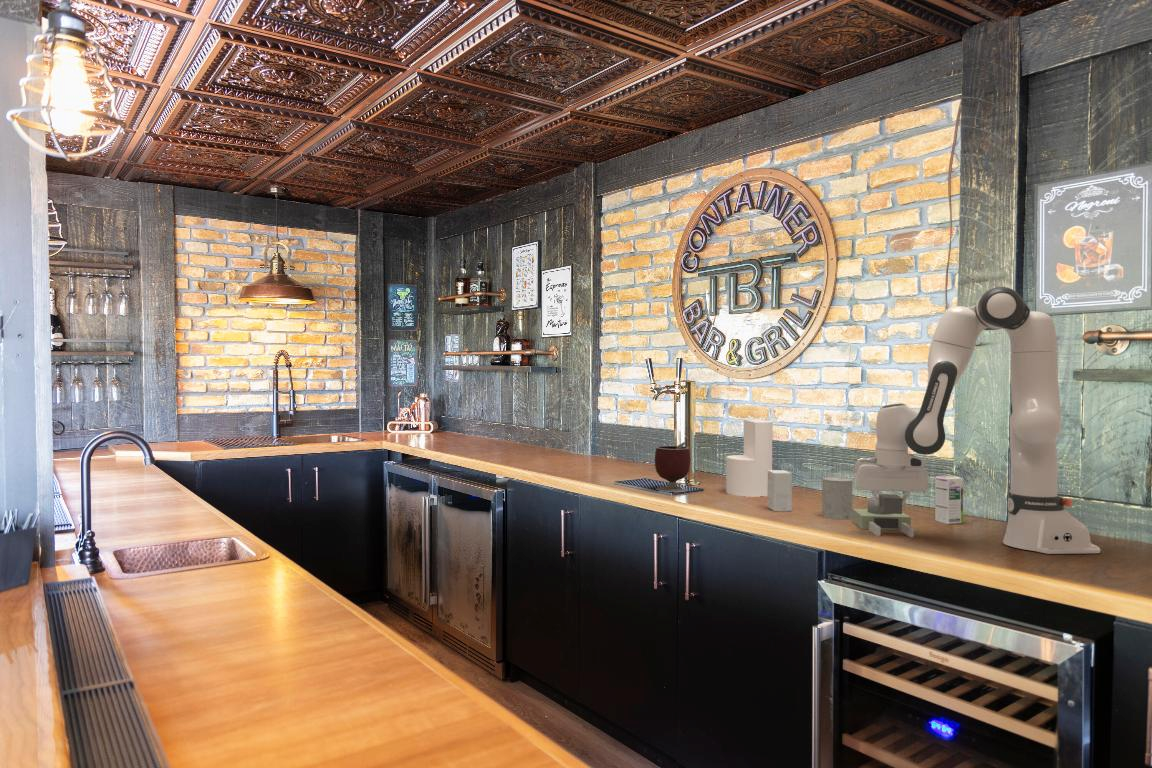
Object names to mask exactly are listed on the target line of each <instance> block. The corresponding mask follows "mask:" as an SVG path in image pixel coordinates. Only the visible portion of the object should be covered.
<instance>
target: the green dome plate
mask: <svg viewBox="0 0 1152 768" xmlns="http://www.w3.org/2000/svg"><path fill="white" fill-rule="evenodd" d="M878 499H879V497H878ZM878 507H879V506H876V505H875V498H874V496H873V497H868V498H867V508H852V518H851V520H852V522H853V523H854V524H855V525H856V526H857V527H859V528H860V529H861V530H868V531H869V532H870V533H872V534H873V535H874V536H876V537H881V534H882V533H881V531H900V532H901V533H903V534H904V535H905V536H908V537H909V538H914V536H915V527H913V526H912V525H911V522H912V518H911V516H909V515H908V514H906V513H904V512H903V511H902V514H888V513H883V512H882V511H880V510H879V509H878Z"/></svg>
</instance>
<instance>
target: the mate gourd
mask: <svg viewBox="0 0 1152 768" xmlns="http://www.w3.org/2000/svg"><path fill="white" fill-rule="evenodd" d="M686 444H687V442H686V441H683V442H682V443H680V444H678V445H660V446H656V448H655V453H654V467H655V472H656V473H657V475H658V476H659V478H661V479H664V480H665V481H668V484H667V486H661V487H656V491H657V490H658V491H657V492H659V491H665V492H683V491H687V490H688V491H689V489H688V488H687V489H682V488H681V486H678V485H677V482H678V481H680V480H683V479H685V478H686V476H687V475H688V474H689V472H690V466H691V452H690V447H689V446H685V445H686Z"/></svg>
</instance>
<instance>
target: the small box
mask: <svg viewBox="0 0 1152 768" xmlns="http://www.w3.org/2000/svg"><path fill="white" fill-rule="evenodd" d="M766 497H767V498H766V499H767V502H766V504H767V505H766V507H767V508H768V509H770V510H772V511H774V512H792V511H793V473H792V472H790V471H787V470H785V469H784V470H783V469H781V470H780V469H776V470H775V469H772V470H768V492H767V496H766Z"/></svg>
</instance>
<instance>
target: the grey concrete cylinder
mask: <svg viewBox="0 0 1152 768" xmlns="http://www.w3.org/2000/svg"><path fill="white" fill-rule="evenodd" d="M821 480H822V485H821V486H822V487H821V488H822V492H821V498H822V500H821V516H822V517H823V518H826V519H832V520H833V519H835V520H849V519H852V509H853V486H854V479H853V478H852V477H846V476H845V477H843V476H824V477H822V478H821Z"/></svg>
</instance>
